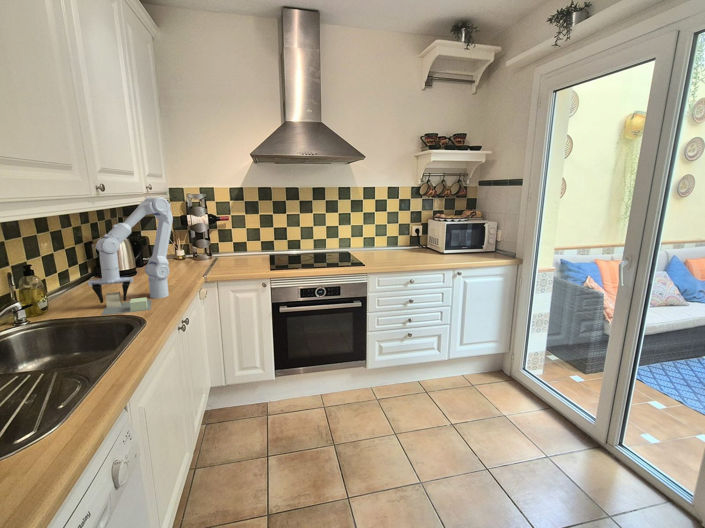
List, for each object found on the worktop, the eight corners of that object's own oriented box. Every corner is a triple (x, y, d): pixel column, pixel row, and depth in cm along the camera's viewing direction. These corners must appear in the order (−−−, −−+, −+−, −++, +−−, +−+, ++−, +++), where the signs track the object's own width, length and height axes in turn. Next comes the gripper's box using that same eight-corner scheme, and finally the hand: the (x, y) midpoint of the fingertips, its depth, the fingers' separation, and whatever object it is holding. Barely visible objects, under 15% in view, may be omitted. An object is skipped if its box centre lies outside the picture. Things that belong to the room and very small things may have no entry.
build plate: (106, 305, 142) (106, 304, 141) (151, 300, 149) (151, 299, 149) (101, 317, 129) (101, 315, 129) (150, 311, 136) (150, 309, 136)
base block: (131, 307, 138) (130, 299, 138) (147, 305, 141) (146, 297, 140) (130, 311, 134) (129, 302, 133) (147, 309, 136) (146, 301, 136)
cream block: (108, 304, 141) (106, 293, 140) (121, 303, 143) (120, 291, 142) (106, 308, 137) (105, 295, 136) (120, 306, 139) (118, 294, 138)
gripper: (85, 271, 130) (89, 306, 133) (130, 268, 137) (134, 301, 139) (88, 268, 136) (92, 301, 139) (132, 265, 143) (135, 297, 146)
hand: (113, 301), depth 139 cm, fingers open, 7 cm apart
